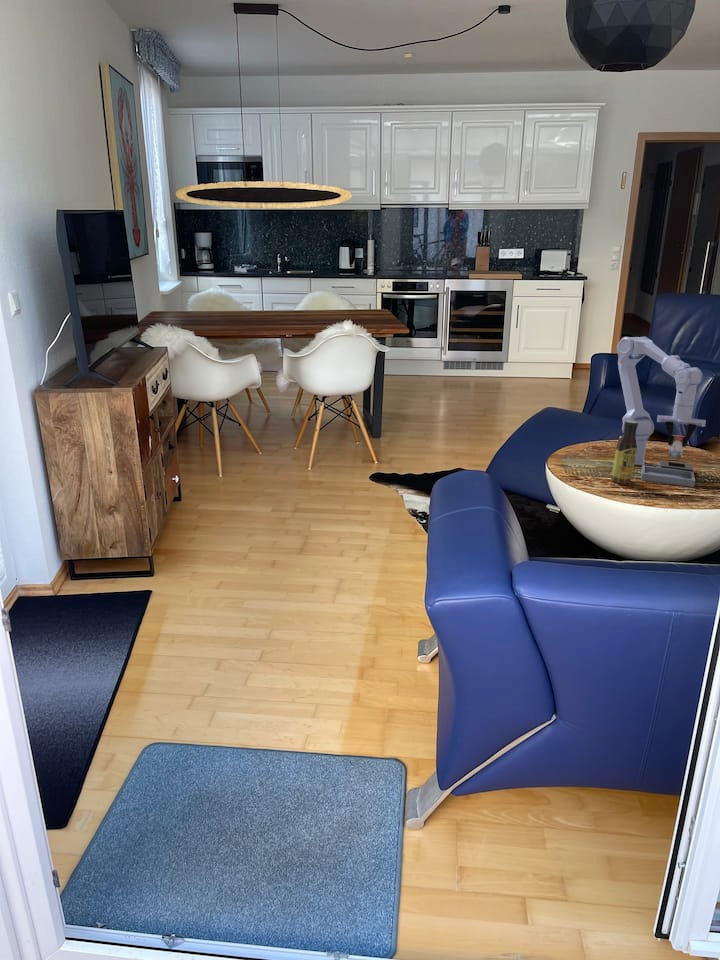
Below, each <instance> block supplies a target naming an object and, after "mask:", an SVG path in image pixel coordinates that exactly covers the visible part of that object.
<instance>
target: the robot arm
mask: <svg viewBox="0 0 720 960" xmlns="http://www.w3.org/2000/svg"><path fill="white" fill-rule="evenodd" d="M616 352H617V357H618V359H617V365H618V366H617V368H618V373H619V377H620V382H621V388H622V392H623V398H624V402H625V403H624V404H625V407H626V413H625V415H623V417H622V427H621V432H623V431H624V422H625V421H627V420H628V421H636V422H638V427H637V429H636V436H635V437H636V444H637V452H636V458H635V463H634V466H642V465H644V466H646V465H645V464H646V463H645V462H646V461H645V455H646V449H647V443H648V439H649V438H650V436H651V435H652V434H653V433H654V430H655V424H654V422H653V420H652V419H651V416H650V413H649V412H648V411H646V410H645V409H644V405H643V400H642V393H641V388H640V385H639V378H638V374H637V369H636V366H637V364H638V363H639V362H640V361H641V360H642V359H643V358H644V357H645V356H648V357H649V358H651V359H652V360H654V361H656V362H657V363H658V364H660V365H661V369H662V371H664V372H665V373H667V375H669V376H670V377H672V378H673V379H674V380H675V384H676V386H675V389H676V395H675V400H674V405H673V411H672V415H661V414H658V415H657V418H656V422H657V423H665V424H664V425H665V428H666V432H667V438H668V439H667V440H668V443H667V445H668V446H670V445H671V438H672V435H673V433H674V432H673V431H674V424H678V425H686V428H685V436H684V437H685V440H684V445H683V448H686V447H687V444H688V442H689V440H690V437H691V436H692V435H693V433H694V432H695V431H696V429H697V427H702V428H703V427H706V423H707V421H706V419H698V418H694V417H692V415H693V411H694V404H695V400H696V393H697V389H698V388H697V387H698V385H700V384H701V382H702V381H703V379H704V377H703V375H704V374H703V372H702V370H701V369H700V368H699V367H692V366H691V365H690V364H689V363H686V362H684V361H683V360H681V357H680V356H679V355H668V354H667V353H666V352H664V351H663V349H661V348H660V347H658V346H657V345H656V344H655V343H654V341H653V340H652V339H650V338H649V337H647V336H640V337H639V336H633V337H632V336H631V337H630V336H623V337H622V338H621V339H620V340H619V342H618V344H617V346H616ZM622 436H623V435H620V436H619V439H620V438H621V437H622Z"/></svg>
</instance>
